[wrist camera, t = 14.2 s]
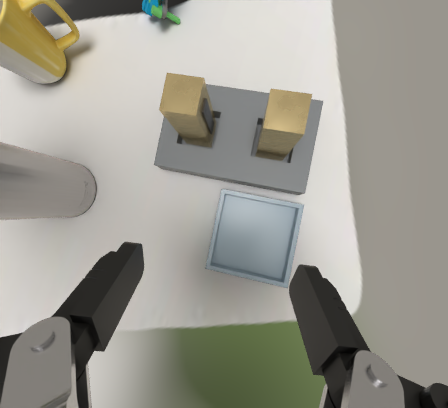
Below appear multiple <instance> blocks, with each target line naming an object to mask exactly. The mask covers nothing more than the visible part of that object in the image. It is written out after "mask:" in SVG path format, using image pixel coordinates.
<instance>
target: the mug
mask: <svg viewBox="0 0 448 408" xmlns="http://www.w3.org/2000/svg"><path fill="white" fill-rule="evenodd" d="M42 3H44V4H47V5H48V6H49V7H51V8H52V9H53V10H54V11H55V12H56V13H57V14H58V15H59V16H60V17H61V18H62V19H63V20H64V21H65V22H66V23H67V24H68V26H69V27H70V28H71V30H72V31H71V32H70V33H69V34H67V35H65V36H64V37H62V38H60V39H57V40H55V39H54V37H53V36H52V35H51V34H50V33H49V32H48V31H47V30H46V28H45V27H44V26H43V25H42V24H41V23H40V22H39V21H38V19H37V18H36V17H35V16H34V15H33V14H32V13H31V10H32V8H33V7H35V6H36V5H38V4H42ZM78 39H79V31H78V29H77V27H76V25H75V24H74V23H73V21H72V20H71V18H70V17H69V16H68V15H67V14H66V12H65V11H64V10H63V9H62V8H61V7H60V6H59V5H58V4H57V2H56V1H54V0H0V66H1V67H3V68H6V69H8V70H10V71H12V72H14V73H16V74H18V75H21V76H23V77H25V78H27V79H29V80H31V81H33V82H36V83H41V84H45V83H54V82H56V81H58V80H60V79H61V78H62V77H63V75H64V73H65V71H66V66H67V65H66V59H65V54H64V51H63V50H65V49H67V48H68V47H69V46H71V45H72V44H74V43H75V42H76V41H77V40H78Z"/></svg>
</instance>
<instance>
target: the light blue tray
mask: <svg viewBox="0 0 448 408" xmlns="http://www.w3.org/2000/svg"><path fill="white" fill-rule="evenodd" d="M303 208H304V205H302V204H297V203H292V202H287V201H282V200H276V199H271V198H266V197H261V196H256V195H251V194H246V193H241V192H236V191H231V190H225V189H222V190H221V195H220V200H219V205H218V209H217V214H216V219H215V224H214V229H213V234H212V239H211V244H210V248H209V253H208V258H207V263H206V268H205V269H209V270H214V271H218V272H222V273H226V274H230V275H234V276H239V277H243V278H247V279H251V280H255V281H260V282H264V283H268V284H272V285H276V286H281V287H285V288H288V283H289V278H290V273H291V268H292V263H293V258H294V253H295V248H296V243H297V238H298V233H299V228H300V223H301V218H302V213H303Z"/></svg>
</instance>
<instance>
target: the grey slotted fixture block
mask: <svg viewBox="0 0 448 408" xmlns="http://www.w3.org/2000/svg"><path fill="white" fill-rule="evenodd" d="M206 87H207V91H208V94H209V98H210V101H211V105H212V109H213V112H214V116H215V119H216V128H215V133H214V137H213V142H212V147H211V148H209V147H203V146H197V145H192V144H187V143H186V142H185V141H184V140H183V139H182V137H181V136H180V135H179V134H178V132H177V131H176V130H175V129H174V128H173V126H172V125H171V124H170V123H169V121H168V120H167V119H166V118H165V117H164V119H163V124H162V129H161V134H160V138H159V143H158V148H157V153H156V157H155V162H154V165H156V166H158V167H160V168H162V169H165V170H171V171H176V172H181V173H186V174H191V175H197V176H202V177H207V178H212V179H217V180H223V181H228V182H233V183H238V184H243V185H249V186H254V187H259V188H264V189H270V190H275V191H280V192H285V193H290V194H296V195H300V194H304V193H305V190H306V185H307V180H308V175H309V170H310V165H311V160H312V155H313V150H314V145H315V140H316V135H317V130H318V125H319V120H320V115H321V110H322V105H323V101H319V100H312V99H311V102H310V107H309V113H308V118H307V123H306V128H305V133H304V135H303V137H302V138H301V139H300V140H299V141H298V142H297V144H296V145H295V146H294V147H293V148H292V150H291V151H290V152H289V153H288V154H287V156H286V157H285V158H284V159H283V160H282V161H278V160H273V159H267V158H261V157H255V156H256V151H257V146H258V141H259V136H260V131H261V126H262V122H263V118H264V114H265V110H266V106H267V102H268V98H269V94H270V93H264V92H257V91H250V90H243V89H236V88H229V87H222V86H215V85H208V84H206Z"/></svg>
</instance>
